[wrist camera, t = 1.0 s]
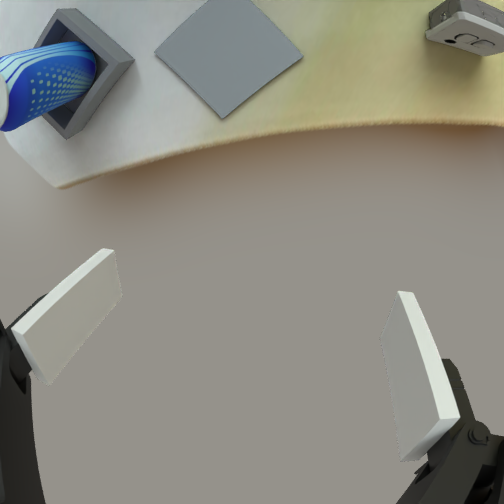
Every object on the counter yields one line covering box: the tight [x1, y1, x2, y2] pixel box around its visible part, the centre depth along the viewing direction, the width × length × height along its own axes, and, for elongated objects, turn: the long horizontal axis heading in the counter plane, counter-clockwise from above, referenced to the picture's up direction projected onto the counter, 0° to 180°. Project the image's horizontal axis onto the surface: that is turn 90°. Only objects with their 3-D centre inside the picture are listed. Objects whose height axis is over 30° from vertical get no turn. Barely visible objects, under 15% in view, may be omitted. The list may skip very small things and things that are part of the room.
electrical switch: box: [425, 0, 504, 56], centre depth 18 cm, size 9×5×9 cm, turn 94°
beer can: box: [0, 41, 96, 132], centre depth 23 cm, size 8×8×16 cm
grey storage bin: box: [34, 8, 135, 140], centre depth 27 cm, size 13×13×4 cm
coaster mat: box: [154, 0, 303, 119], centre depth 28 cm, size 12×12×1 cm
